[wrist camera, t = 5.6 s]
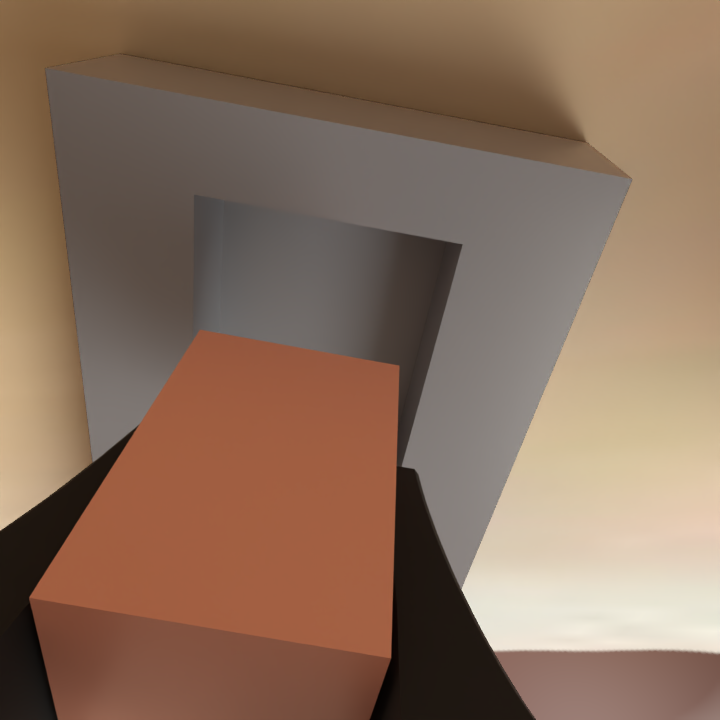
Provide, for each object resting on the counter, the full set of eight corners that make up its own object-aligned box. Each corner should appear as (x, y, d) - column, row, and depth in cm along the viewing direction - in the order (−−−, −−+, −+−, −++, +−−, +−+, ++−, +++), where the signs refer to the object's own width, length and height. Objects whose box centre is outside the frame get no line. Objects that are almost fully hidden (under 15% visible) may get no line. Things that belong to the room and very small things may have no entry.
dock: (587, 142, 15) (706, 240, 9) (409, 635, 26) (408, 818, 21) (120, 53, 14) (-83, 92, 8) (150, 591, 26) (74, 764, 20)
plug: (399, 365, 11) (390, 658, 6) (365, 505, 14) (339, 807, 8) (199, 329, 11) (28, 597, 6) (197, 476, 13) (68, 763, 8)
